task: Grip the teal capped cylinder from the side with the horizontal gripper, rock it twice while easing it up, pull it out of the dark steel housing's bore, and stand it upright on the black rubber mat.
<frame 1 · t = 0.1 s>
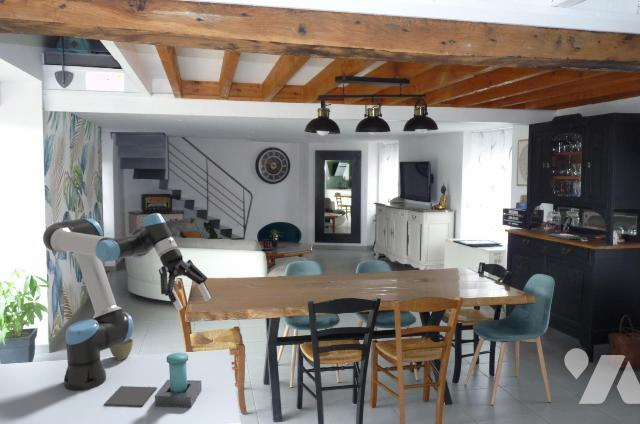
hand: (194, 304, 195), 36 cm above the table, tool tilted 35°, fingers open, 13 cm apart
mat: (131, 396, 202), on the table
teal capped cylinder: (178, 377, 200), in the housing
flower pot: (121, 357, 238), on the table
housing: (179, 398, 201), on the table
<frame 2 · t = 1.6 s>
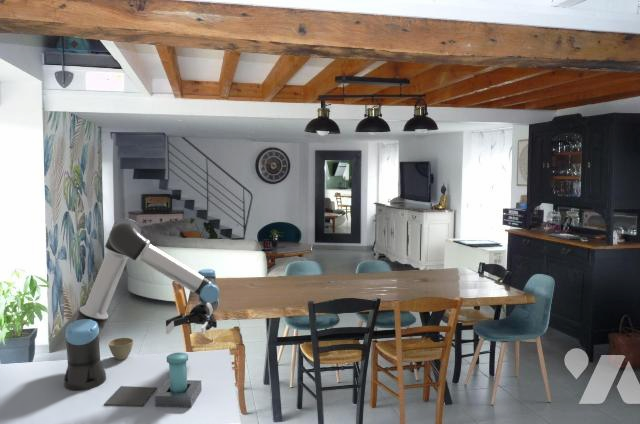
hand: (184, 331, 207), 22 cm above the table, tool horizontal, fingers open, 13 cm apart
nothing on the table moved.
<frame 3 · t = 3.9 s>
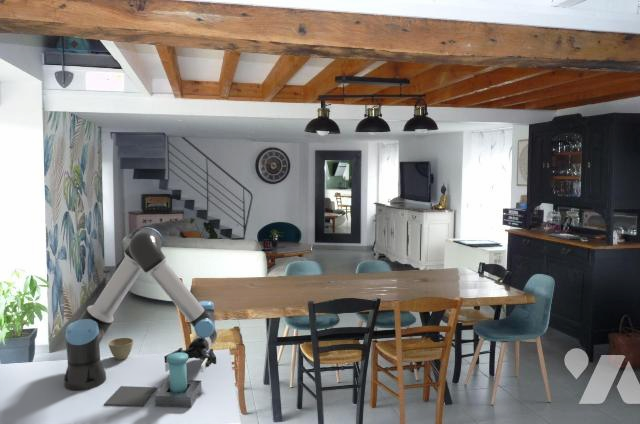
hand: (184, 368, 204), 9 cm above the table, tool horizontal, fingers open, 13 cm apart
nothing on the table moved.
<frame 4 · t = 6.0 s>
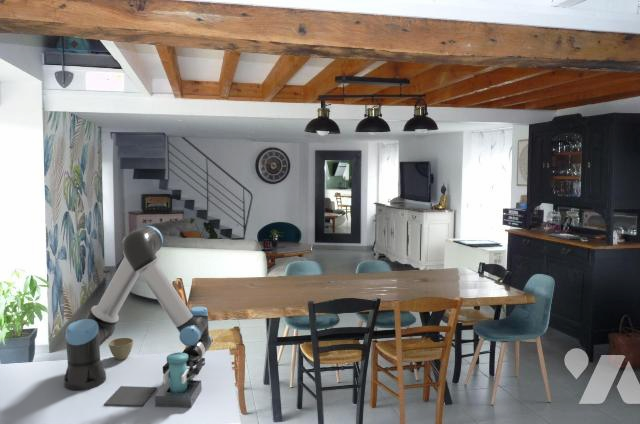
hand: (173, 379, 194), 10 cm above the table, tool horizontal, fingers closed on teal capped cylinder, 6 cm apart
teal capped cylinder: (178, 377, 200), in the housing, touching gripper
everything else where it was.
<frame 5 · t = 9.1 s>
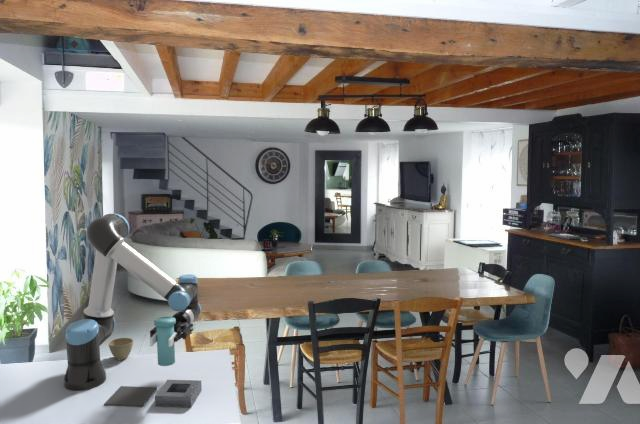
hand: (160, 342, 193), 23 cm above the table, tool horizontal, fingers closed on teal capped cylinder, 6 cm apart
teal capped cylinder: (165, 341, 198), point 22 cm above the table, touching gripper
everything else where it was.
when the fingers open (12 cm above the table, at t = 12.4 s): teal capped cylinder drops 1 cm, resting on mat.
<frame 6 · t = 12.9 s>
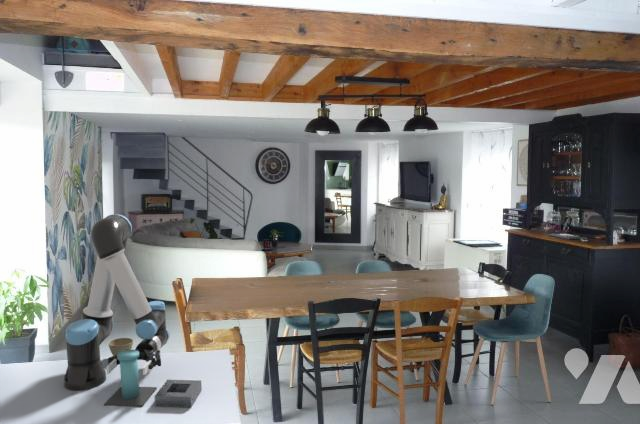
hand: (125, 370, 197), 12 cm above the table, tool horizontal, fingers open, 13 cm apart
teal capped cylinder: (129, 374, 201), on the mat, point 9 cm above the table
everything else where it was.
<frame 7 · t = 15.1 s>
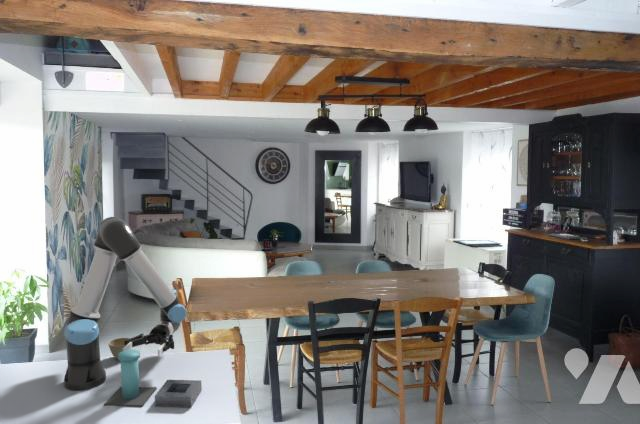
hand: (141, 352, 210), 13 cm above the table, tool horizontal, fingers open, 13 cm apart
nothing on the table moved.
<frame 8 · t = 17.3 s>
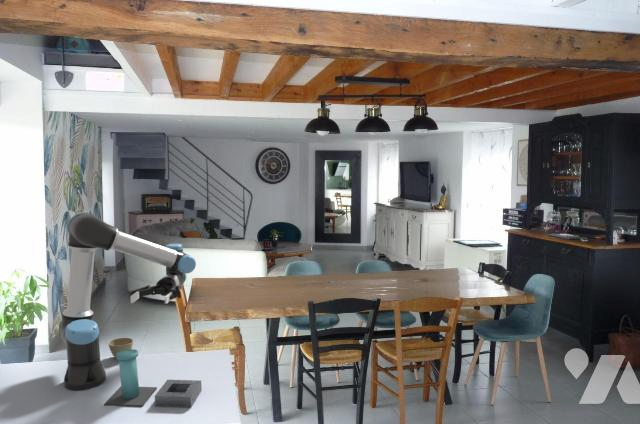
hand: (148, 300, 213), 32 cm above the table, tool horizontal, fingers open, 13 cm apart
at the end: teal capped cylinder inside the target area (0.1 cm from its centre), point 8.7 cm above the table; teal capped cylinder tilted 2°; the gripper is holding nothing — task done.
